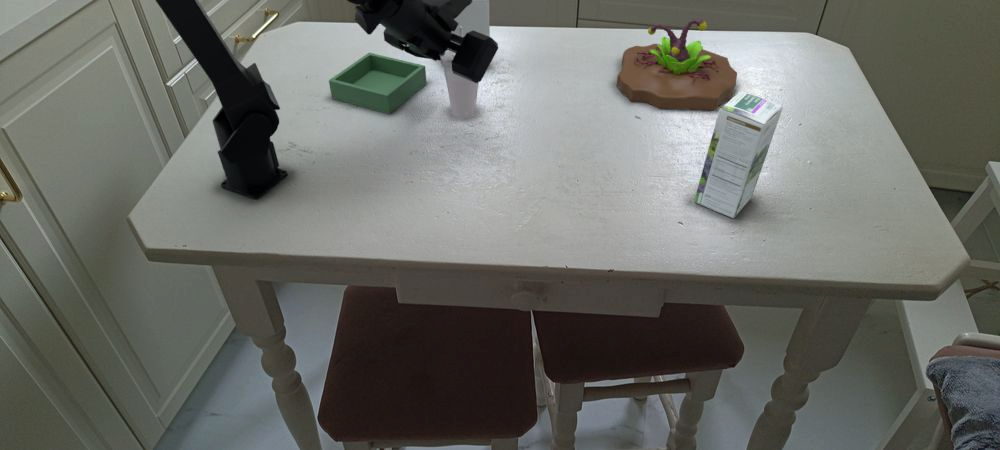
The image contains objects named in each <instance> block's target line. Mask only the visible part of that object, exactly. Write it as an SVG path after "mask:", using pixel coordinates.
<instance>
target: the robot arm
mask: <svg viewBox="0 0 1000 450" xmlns="http://www.w3.org/2000/svg"><path fill="white" fill-rule="evenodd" d="M154 1H155V2H156V3H157V5H158V6H159V8H160V9H161V11H162V13H163V14H164V15H165V16H166V18H167V20H168V21H169V22H170V24H171V25H172V27H173V28H174V29H175V31H176V32H177V34H178V35H179V37H180V38H181V40H182V41H183V43H184V44H185V46H186V47H187V48H188V50H189V51H190V53H191V54H192V55H193V57H194V58H195V60H196V62H197V63H198V64H199V65H200V67H201V69H202V70H203V72H204V73H205V74H206V76H207V77H208V79H209V80H210V82H211V84H212V86H213V88H214V90H215V93H216V95H217V97H218V100H219V102H220V105H221V108H220V109H219V110H218V112H217V113H216V114H215V116H214V117H213V119H212V126H213V129H214V131H215V136H216V138H217V139H216V140H217V142H218V146H219V150H218V151H217V155H218V157H219V159H220V163H221V166H222V170H223V172H224V175H225V180H223V181H222V182H221V183H220V186H221V188H222V189H225V190H228V191H230V192H233V193H237V194H239V195H241V196H245V197H248V198H250V199H253V200H258V199H260V198H262V197H263V196H264V195H266V193H268V192H269V191H270V190H272V189H273V188H274V187H275V186H277V185H278V184H279V183H280V182H282V181H283V180H284V179H285V178H286V177H288V171H287V170H285V169H283V168H279V167H280V162H279V159H278V155H277V152H276V147H275V145H274V141H272V140H271V137H272V136H273V135H275V133H276V132H277V130H278V128H279V125H280V117H279V115H278V112H277V111H280V110H281V107H280V104H279V103H278V100H277V98H276V96H275V93H274V92H273V91H274V90H273V89H272V87H271V85H270V84H269V83H267V82H266V81H265V80H264V79H263V76H262V74H261V71H260V70H259V67H258V65H257V63H256V62H253V63H252V64H251V65H249V66H247V67H246V66H244V65H243V64H242V63H241V62H240V61H238V60H237V58H236V57H235V56H234V54H233V52H232V51H231V50H230V47H228V46H229V45H227V43H226V41H225V40H224V38H223V36H222V35H221V33H220V32H219V30H218V29H217V27H216V26H215V25H214V23H213V21H212V20H211V18H210V17H209V15H208V14H207V12H206V10H205V9H204V7H203V6H202V4H201V3H200V1H199V0H154ZM346 1H347V2H348V3H351V4H354V5H356V6H355V14H354V21H355V22H356V24H357V25H358V26H359V27H360V28H361V29H362V30H363V31H364V32H365V33H366V35H368V36H369V35H372V34H373V33H374V31H375V30H376V29H377V28H378V26H379V25H381V26H382V27H384V29H383V41H384V42H386V43H387V44H388V45H390V46H391V47H394V48H396V49H398V50H400V51H402V52H405V53H407V54H409V55H412V56H414V57H416V58H421V59H428V60H432V61H434V62H437V61H439V62H441V56H444V54H445V52H446V50H449V51H452V52H454V53H456V54H455V56H454V58H453V60H452V71H453V73H454V74H456V75H458V76H461V77H463V78H465V79H467V80H470V81H472V82H474V83H478V84H479V83H480V82H481V81H482V80H483V78H484V76H485V74H486V72H487V71H488V69H489V68H490V67H489V65H490V66H491V63H492V62H493V59H494V57H495V56H496V54H497V52H498V50H499V45H498V42H497V41H496V40H495V39H494V38H493V37H492V36H490V37H489V36H486V35H484V34H481V33H479V32H476V31H470V32H468V33H466V35H465V36H464V37H461V36H458V35H456V34H453V33H451V32H452V31H455V30H456V28H457V26H458V24H459V23H457V22H456V21H455V20H454V19H455V18H457V17H458V16H459V14H460V13H461V12H462V11H463V10H464V9H465V8H466V7H467V6H469V5H470V4H471V3H472V0H346ZM452 41H453V42H452ZM454 42H456V43H458V44H456V43H454ZM459 44H460V45H459ZM488 67H489V68H488Z"/></svg>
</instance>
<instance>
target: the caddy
mask: <svg viewBox="0 0 1000 450" xmlns="http://www.w3.org/2000/svg"><path fill="white" fill-rule="evenodd" d="M426 71H427V70H426V65H423V64H420V63H415V62H411V61H407V60H402V59H398V58H393V57H390V56H387V55H386V56H385V55H381V54H377V53H372V52H368V53H366V54H365V55H363V56H362V57H360V58H358V60H356V61H355V62H353V63H352V64H350V65H348V66H347V67H346V68H344V69H342V71H340V72H339V73H337V74H335V75H334V76H333V77H331V78H330V79H328V84H329V89H330V95H331V99H332V100H336V101H340V102H344V103H348V104H351V105H355V106H359V107H362V108H365V109H366V108H367V109H370V110H373V111H377V112H380V113H385V114H389V115H391V114H392V113H393V112H394V111H395V110H397V109H398V108H399V107H400V106H401V105H402V104H404V103H405V102H406V101H407V100H408V99H410V98H411V97H412V96H414V95H415V94H416V93H417V92H418V91H419V90H420V89H422V88H423V87H425V85H427V72H426Z"/></svg>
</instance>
